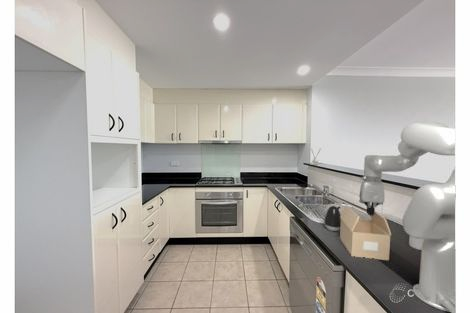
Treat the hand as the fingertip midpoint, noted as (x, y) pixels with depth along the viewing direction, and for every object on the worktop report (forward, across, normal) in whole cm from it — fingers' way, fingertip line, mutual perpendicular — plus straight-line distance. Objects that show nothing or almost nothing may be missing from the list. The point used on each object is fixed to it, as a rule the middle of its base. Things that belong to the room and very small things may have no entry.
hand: (370, 214), depth 108 cm
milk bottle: (+18, +27, +8) cm, 33 cm away
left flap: (+2, -10, 0) cm, 10 cm away
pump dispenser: (+18, -12, +22) cm, 31 cm away
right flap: (+2, +4, 0) cm, 4 cm away
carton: (+18, -3, 0) cm, 18 cm away
